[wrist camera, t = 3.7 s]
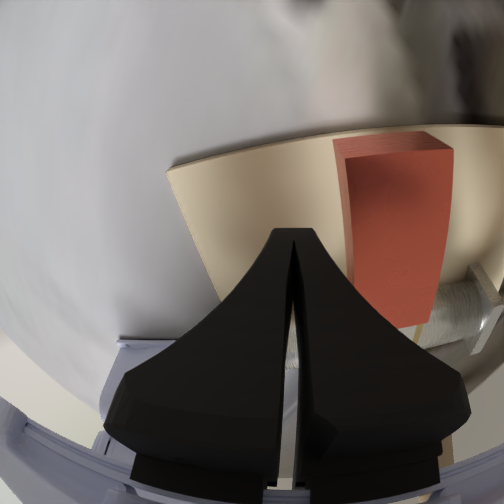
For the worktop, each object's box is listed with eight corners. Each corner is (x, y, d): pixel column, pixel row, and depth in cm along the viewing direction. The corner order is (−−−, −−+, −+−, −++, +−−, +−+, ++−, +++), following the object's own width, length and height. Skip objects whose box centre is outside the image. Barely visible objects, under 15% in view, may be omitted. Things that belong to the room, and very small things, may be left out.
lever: (401, 372, 16) (407, 400, 14) (338, 382, 17) (340, 411, 15) (436, 128, 7) (469, 148, 6) (312, 140, 8) (321, 161, 7)
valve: (249, 345, 22) (242, 392, 19) (226, 293, 19) (213, 346, 16) (460, 312, 18) (478, 354, 15) (478, 255, 15) (507, 299, 11)
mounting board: (252, 361, 24) (252, 367, 24) (169, 168, 14) (165, 172, 14) (479, 323, 19) (482, 328, 19) (526, 127, 9) (531, 130, 9)
